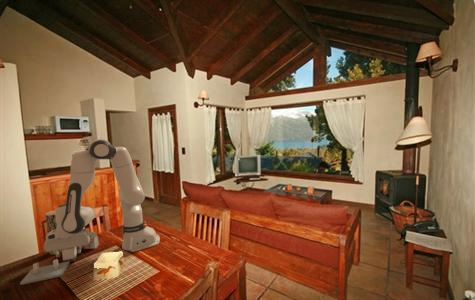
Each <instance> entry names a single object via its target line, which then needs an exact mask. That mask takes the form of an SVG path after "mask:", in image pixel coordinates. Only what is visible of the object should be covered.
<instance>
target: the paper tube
mask: <svg viewBox="0 0 475 300" xmlns="http://www.w3.org/2000/svg"><path fill="white" fill-rule="evenodd" d="M55 213H56V209H54V210H51V211H47V212H46V213H45V222H46V231H47V233H46V235H47V234H48V233H49V232H51V231H53V230H55V229H56V227H57V223H56V217H55ZM62 250H63V249H60V250H57V251H58V253H61V254H62ZM48 253H49V255H51V256H52V255H53V256H56V255H55V254H54V253H53V251H49V252H48Z"/></svg>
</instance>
